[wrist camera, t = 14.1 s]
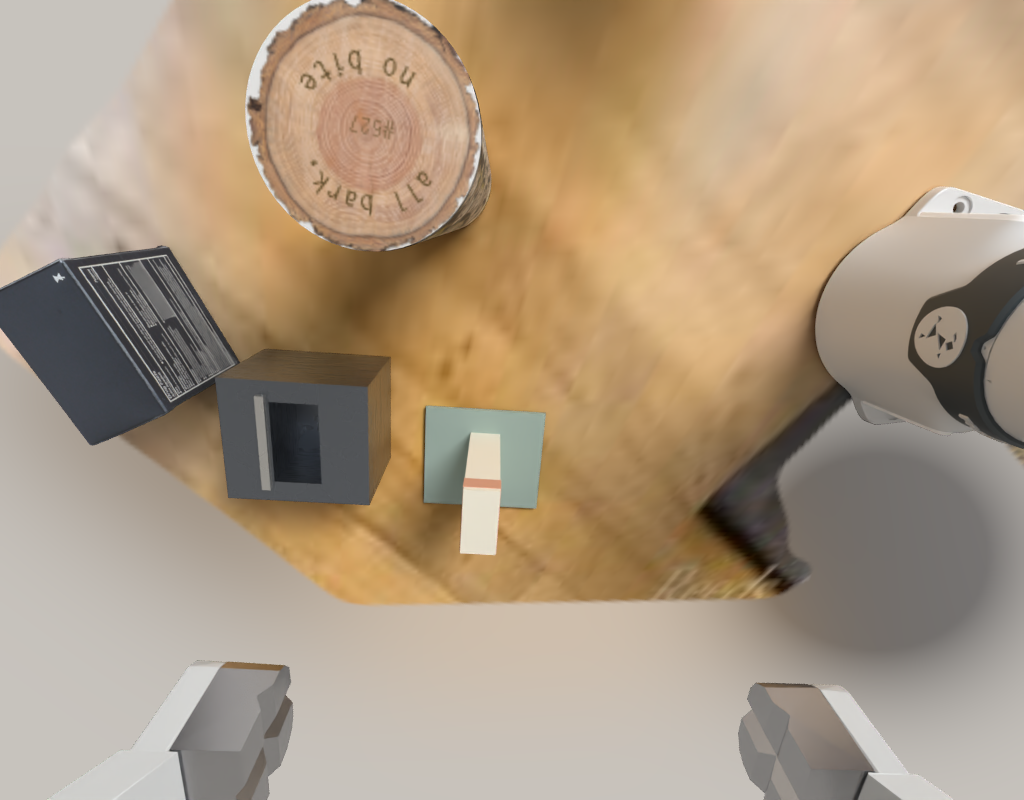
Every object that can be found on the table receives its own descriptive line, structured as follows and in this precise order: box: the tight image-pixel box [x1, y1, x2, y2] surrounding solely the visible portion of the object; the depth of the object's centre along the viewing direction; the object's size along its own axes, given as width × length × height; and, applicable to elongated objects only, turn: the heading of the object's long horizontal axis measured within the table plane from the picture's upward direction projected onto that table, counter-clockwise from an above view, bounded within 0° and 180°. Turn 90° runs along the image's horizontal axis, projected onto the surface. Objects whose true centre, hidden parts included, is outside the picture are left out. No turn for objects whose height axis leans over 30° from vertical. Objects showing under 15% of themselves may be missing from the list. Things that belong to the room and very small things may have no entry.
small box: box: [0, 245, 240, 445], centre depth 37 cm, size 11×6×10 cm, turn 23°
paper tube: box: [245, 0, 491, 251], centre depth 27 cm, size 7×7×25 cm
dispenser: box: [215, 349, 391, 505], centre depth 41 cm, size 10×9×8 cm
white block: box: [460, 432, 501, 555], centre depth 41 cm, size 3×5×10 cm, turn 176°
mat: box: [424, 406, 546, 508], centre depth 46 cm, size 10×9×1 cm
